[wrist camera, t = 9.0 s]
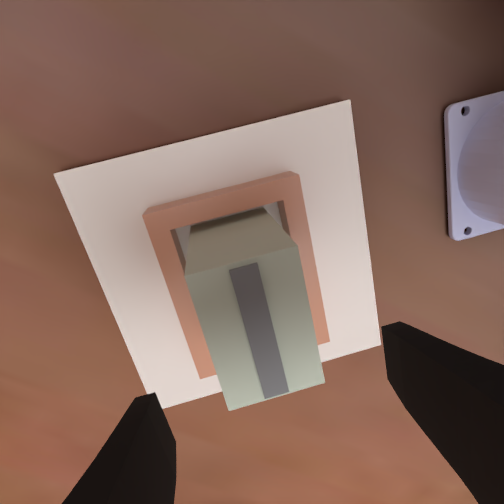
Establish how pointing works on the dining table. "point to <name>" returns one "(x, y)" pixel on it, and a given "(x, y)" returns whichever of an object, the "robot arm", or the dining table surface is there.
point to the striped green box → (252, 307)
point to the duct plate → (219, 206)
